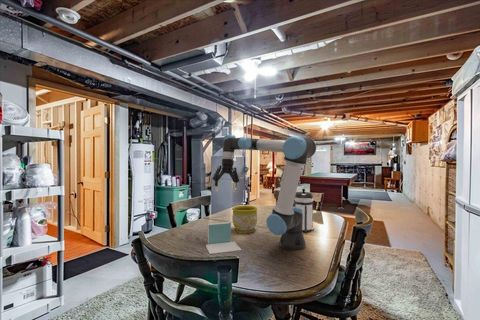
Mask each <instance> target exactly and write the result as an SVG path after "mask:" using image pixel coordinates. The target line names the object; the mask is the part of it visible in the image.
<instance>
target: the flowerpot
mask: <svg viewBox="0 0 480 320" xmlns="http://www.w3.org/2000/svg"><path fill="white" fill-rule="evenodd" d="M231 210H232V216H231V217H232V224H233V226H234V230H235V231H236V232H237V233H239V234H251V233H253V232H254V231H255V230H256V229H255V228H256V226H257V223H258V207H257V206H253V205H236V206H233V207H232V208H231Z"/></svg>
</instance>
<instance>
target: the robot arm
mask: <svg viewBox="0 0 480 320" xmlns="http://www.w3.org/2000/svg"><path fill="white" fill-rule="evenodd" d="M222 142H223V143H222V144H223V146H222V156H221V158H222V159H221V165H217V168H216V170H215V173H214V175H213V177H212V180H213V181H214V186H215V188H214V192H217V193H219V191H220V181H219V180H221V178H222V177H223V175H224V174H228V175H229V176H230V178H231V180H232V181H233V182H232V184H231V193H234V194H235V193H236V188H237V183H239V182H240V178H239V174H238V171H237V167H234V162H235V161H234V160H235V159H234V158H235V151H237V150H239V151H240V150H241V151H242V150H246V151H260V152H261V151H263V152H274V153H281V154H282V153H283V155H284V157H283V160H284V162H285V165H284V166H285V167H284V170H283V175H282V179H281V184H280V188H279V191H278V192H279V193H278V198H277V201H276V205H273V208H272V211H271V213H270V214H269V215H268V216H267V218H266V227H267V228H268V230H269V232H270V233H272V234H273V235H276V236H280V240H279V246H280V247H281V248H283V249H286V250H289V251H290V250H292V251H299V250H303V249H305V248H306V245H307V244H306V240H305V237H304V233H303V231H304V230H303V211H302V209H301V208H299V207H295V206H294V204H295V202H294V200H295V195H296V193H297V190H298V185H299V181H300V177H301V174H302V173H301V172H302V170H303V169H302V168H303V167H304V166H305V165H307V161H308V159H309V158H312V157H313V156H314V155H315V154H316V152H317V144H316V142H315V141H314V139H312V138H311V137H306V136H305V137H304V136H300V135H293V136H289V137H288V138H286V139H267V138H266V139H265V138H252V137H251V138H249V136H248V137H247V136H242V137H241V136H240V137H236V136H235V135H233V134H225V135H224V136H223V141H222Z"/></svg>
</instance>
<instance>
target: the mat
mask: <svg viewBox="0 0 480 320" xmlns="http://www.w3.org/2000/svg"><path fill="white" fill-rule="evenodd" d="M205 245H206V246H205V247H206V249H207V252H208V253H209V255H215V254H222V253H223V254H224V253H230V252H238V251H242V249H241V247H240V246H239V245H238V243H236V241H231V242H225V243H216V244H208V243H207V244H205Z"/></svg>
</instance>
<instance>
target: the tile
mask: <svg viewBox="0 0 480 320" xmlns="http://www.w3.org/2000/svg"><path fill="white" fill-rule="evenodd" d="M225 242H232V222H231V221H224V222H213V223H212V222H211V223H207V244H216V243H225Z"/></svg>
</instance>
